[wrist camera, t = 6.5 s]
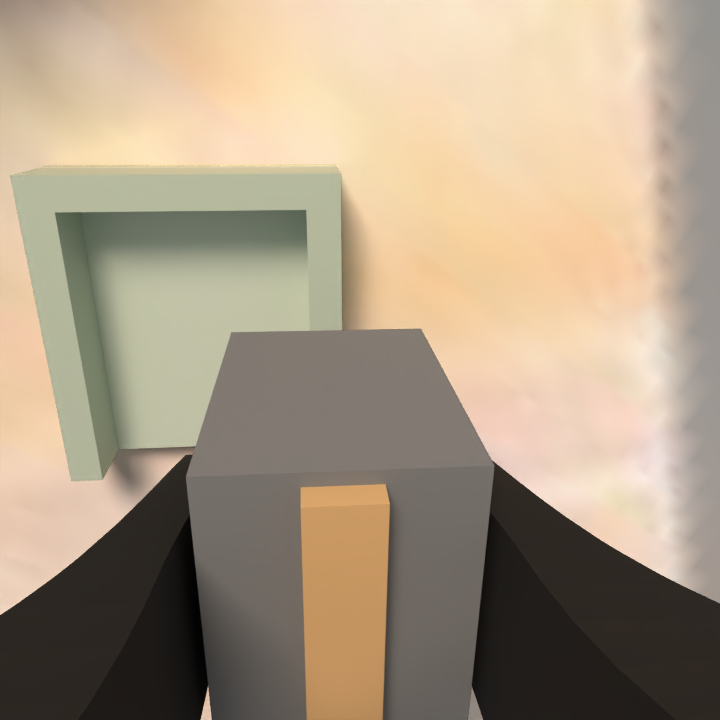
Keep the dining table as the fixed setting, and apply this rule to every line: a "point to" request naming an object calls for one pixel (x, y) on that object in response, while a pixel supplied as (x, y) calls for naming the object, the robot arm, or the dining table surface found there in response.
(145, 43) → the dining table surface
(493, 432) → the dining table surface
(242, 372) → the grey block
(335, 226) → the notch board
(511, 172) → the dining table surface
